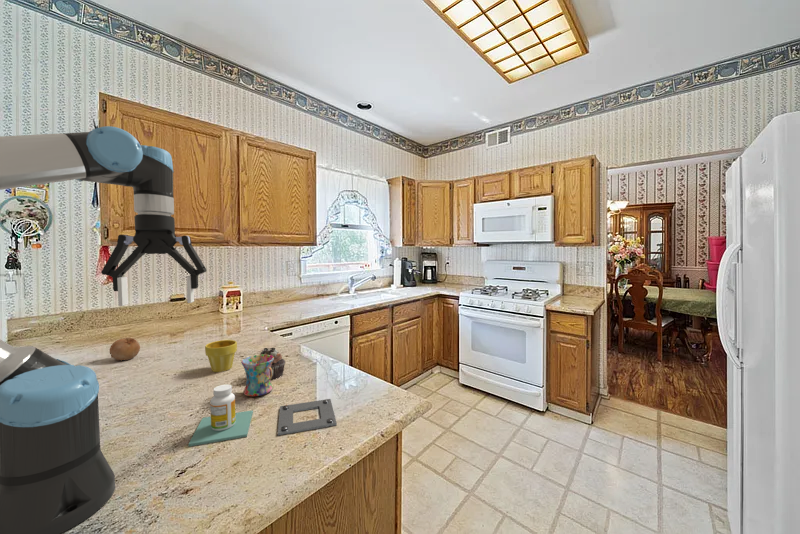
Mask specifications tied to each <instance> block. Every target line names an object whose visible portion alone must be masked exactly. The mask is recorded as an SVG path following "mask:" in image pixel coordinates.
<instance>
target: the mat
mask: <svg viewBox="0 0 800 534" xmlns="http://www.w3.org/2000/svg"><path fill="white" fill-rule="evenodd" d="M253 413H254V410H252V409H251V410H246V411H239V412H238V411H237V412H235V416H236V422H235V424H234V425H233V426H232V427H230V428H228V429H226V430H222V431H215V430H212V428H211V416H205V417H202V419H201V420H200V422H199V424H198V426H197V427H196V429H195V431H194V433H193V435H192V437H191V439H190V440H189V442H188V447H194V446H199V445H200V446H202V445H206V444H213V443H217V442H223V441H224V442H225V441H229V440H235V439H240V438H246V437H247V436H248V433H249V429H250V426H251V423H252V422H251V421H252V418H253Z"/></svg>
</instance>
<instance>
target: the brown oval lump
mask: <svg viewBox="0 0 800 534" xmlns="http://www.w3.org/2000/svg"><path fill="white" fill-rule="evenodd" d="M140 350H141V345H140V343H139V342H138V340H136V339H135V338H133V337H126V338H120V339H117V340H115V341H114V342H113V343H112V344H111V345H110V347H109V355H110V358H113V359H114V360H116V361H119V360H121V361H122V360H125V361H129V360H131V359H133V358H135V357H136V356H137V355H138V354H139V353H140ZM121 361H119V362H121Z"/></svg>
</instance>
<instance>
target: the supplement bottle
mask: <svg viewBox="0 0 800 534" xmlns="http://www.w3.org/2000/svg"><path fill="white" fill-rule="evenodd" d="M232 386H233V385H231V384H220V385H217V386H215V387H214V388H213V391H212V393H213V396H212V397H211V399H210V402H209V403H210V404H209V405H210V417H211V428H212V430H215V431H222V430H226V429H228V428H230V427H232V426H233V425H234V424H235V422H236V416H235V413H236V395H235V394H234V393H233V391H232V390H233V388H232Z"/></svg>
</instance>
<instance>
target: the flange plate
mask: <svg viewBox="0 0 800 534" xmlns="http://www.w3.org/2000/svg"><path fill="white" fill-rule="evenodd" d="M316 409H317V410H318V409H319V414H320V418H316V419H312V420H311V419H310V420H304V421H298V422H294V413H297V412H302V411H303V412H304V411H309V410H316ZM334 411H335V410H334V407H333V405H332V399H331V398H326V399H320V400H313V401H307V402H300V403H299V402H298V403H293V404H287V405H285V404H284V405H280V406H279V415H278V416H279V417H278V425H277V436H278V437H279V436H283V435H289V434H294V433H301V432H306V431H312V430H318V429H323V428H324V429H325V428H330V427H336V426H337V419H336V415H335V412H334Z"/></svg>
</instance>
